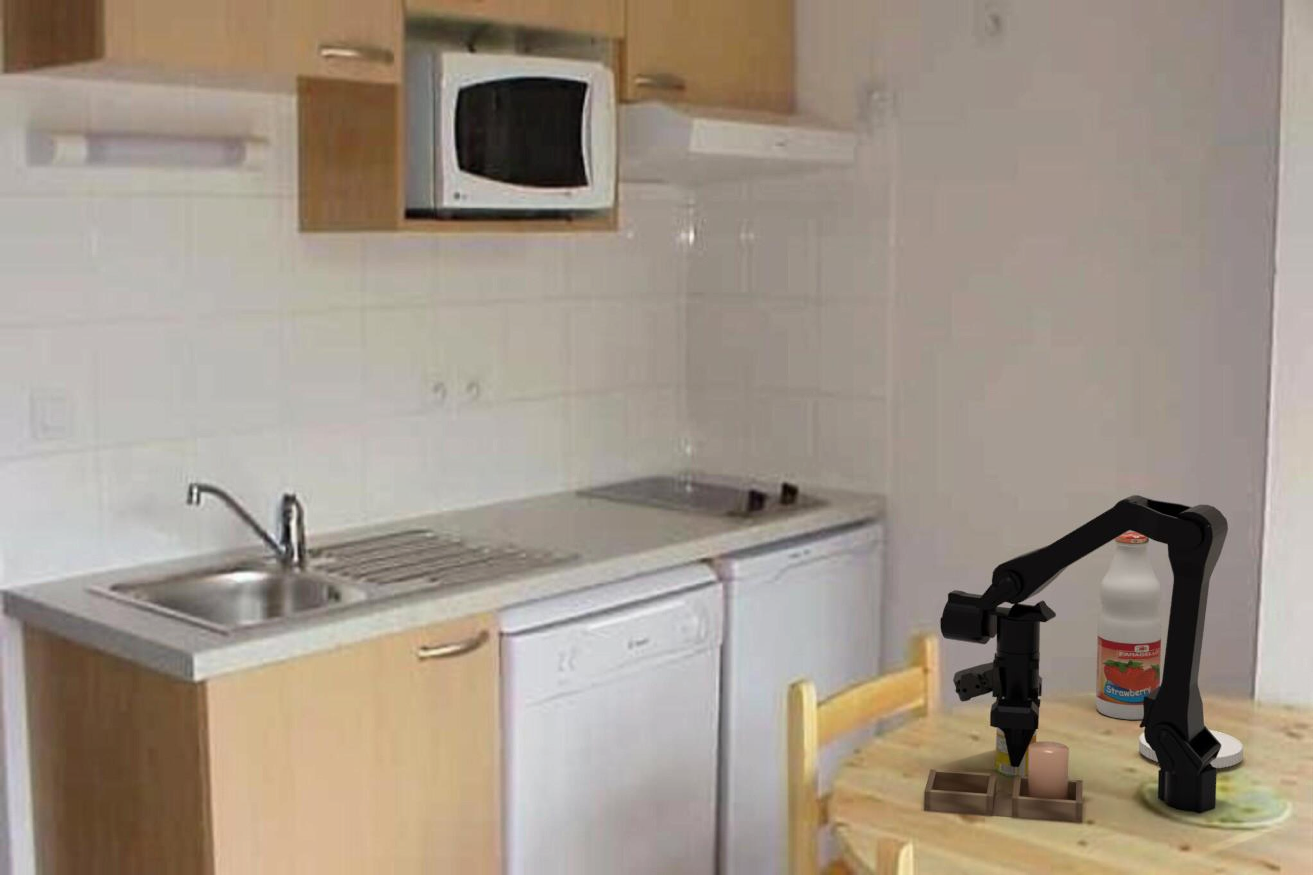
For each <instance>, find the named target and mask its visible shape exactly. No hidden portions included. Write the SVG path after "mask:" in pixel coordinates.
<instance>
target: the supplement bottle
mask: <svg viewBox="0 0 1313 875" xmlns="http://www.w3.org/2000/svg"><path fill="white" fill-rule="evenodd" d="M995 733H996V734H995V739H996V741H995V742H996V745H995V747H996V748H995V772H996V774H999V775H1002V776H1004V777H1005V776H1006V777H1009V778H1015V775H1016V776H1028V759H1029V746H1028V748H1027V750H1026V753H1025V755H1024V757H1023V759H1022V761H1021V764H1020V766H1019V767H1012V766H1011V764H1010V759H1009V755H1008V750H1007V745H1006V741H1005V736H1004V733H1003V731H1002V730H1000V729H999V728H997V727H996V732H995ZM1035 742H1037V730H1036V731H1035V733H1034V735H1033V737H1032V739H1031V742H1030V744H1032V743H1035ZM1030 744H1029V745H1030Z"/></svg>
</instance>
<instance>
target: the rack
mask: <svg viewBox="0 0 1313 875" xmlns="http://www.w3.org/2000/svg"><path fill="white" fill-rule="evenodd" d="M1083 785H1084V781H1083V780H1082V779H1069V778H1068V800H1059V799H1046V798H1033V797H1028V776H1016V775H1015V777H1014V781H1013V787H1012V788H1013V789H1012V793H1008V792H999V791H998V792H997V773H987V772H975V771H974V772H972V771H960V770H959V771H958V770H944V769H933V768H931V769H929V774H928V777H927V780H926V784H925V787H924V792H923V799H924V800H923V808H924V809H923V810H924V811H925V812H939V813H949V814H950V813H953V814H965V815H977V816H987V817H988V816H989V817H1001V818H1013V819H1015V818H1016V819H1027V820H1038V821H1039V820H1040V821H1041V820H1042V821H1049V822H1051V821H1053V822H1062V823H1063V822H1064V823H1074V824H1076V823H1078V824H1082V823H1083V800H1084V798H1083V792H1084V791H1083V789H1084V786H1083Z"/></svg>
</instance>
